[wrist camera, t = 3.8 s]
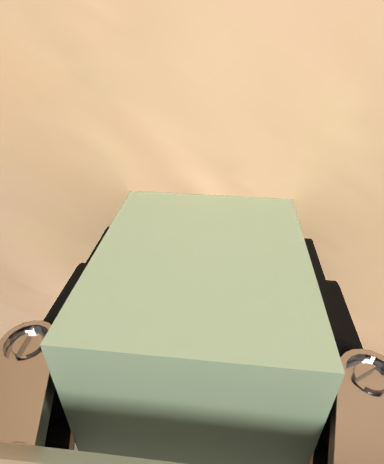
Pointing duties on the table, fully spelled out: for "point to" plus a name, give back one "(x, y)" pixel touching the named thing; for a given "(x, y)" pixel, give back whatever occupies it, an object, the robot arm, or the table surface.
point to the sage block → (197, 335)
